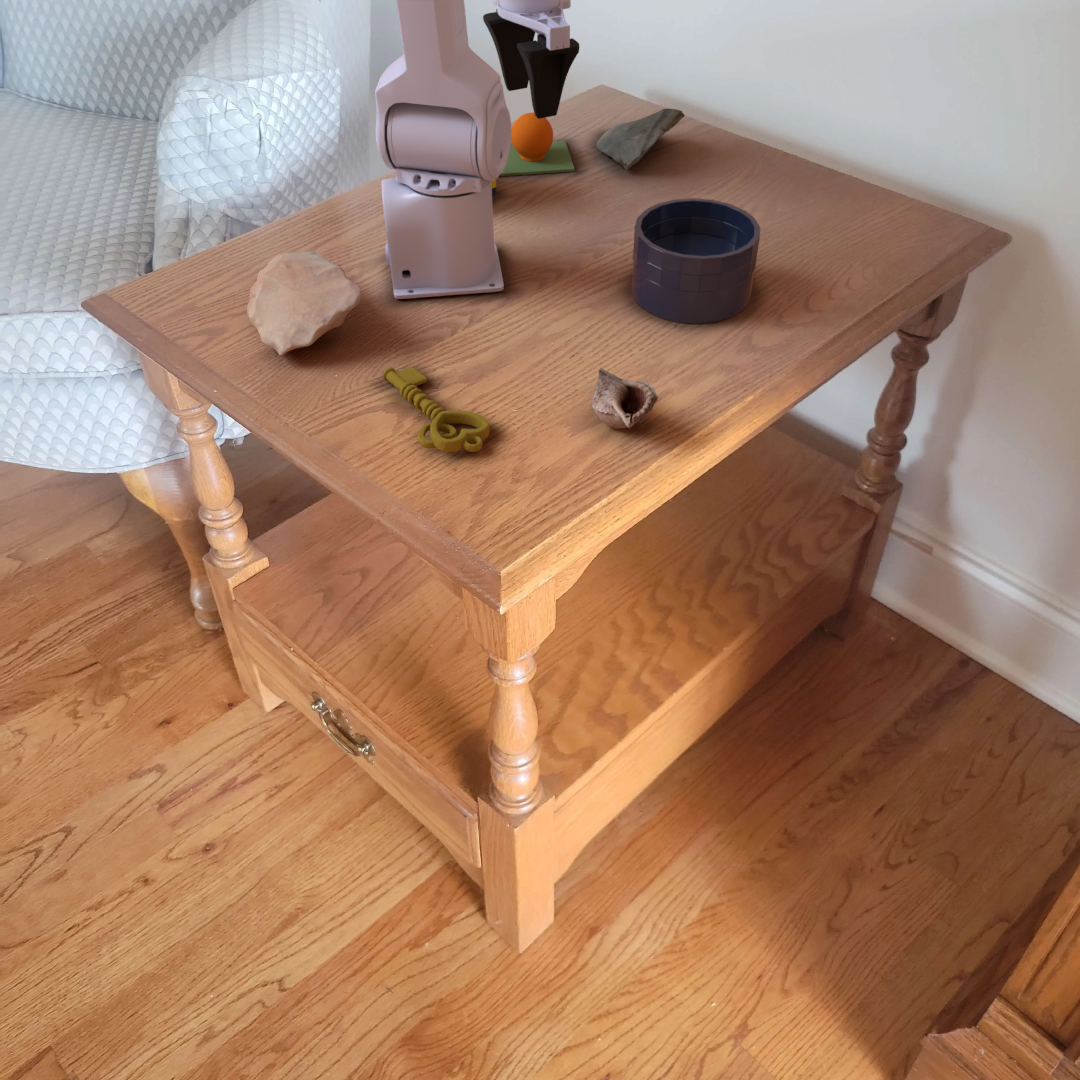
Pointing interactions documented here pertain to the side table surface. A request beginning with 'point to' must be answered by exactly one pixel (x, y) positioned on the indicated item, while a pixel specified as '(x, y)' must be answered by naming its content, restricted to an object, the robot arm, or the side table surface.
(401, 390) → the key
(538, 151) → the orange
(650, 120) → the stone
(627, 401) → the seashell
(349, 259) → the side table surface
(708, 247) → the pot
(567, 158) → the green flat plate
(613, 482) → the side table surface
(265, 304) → the stone tool
